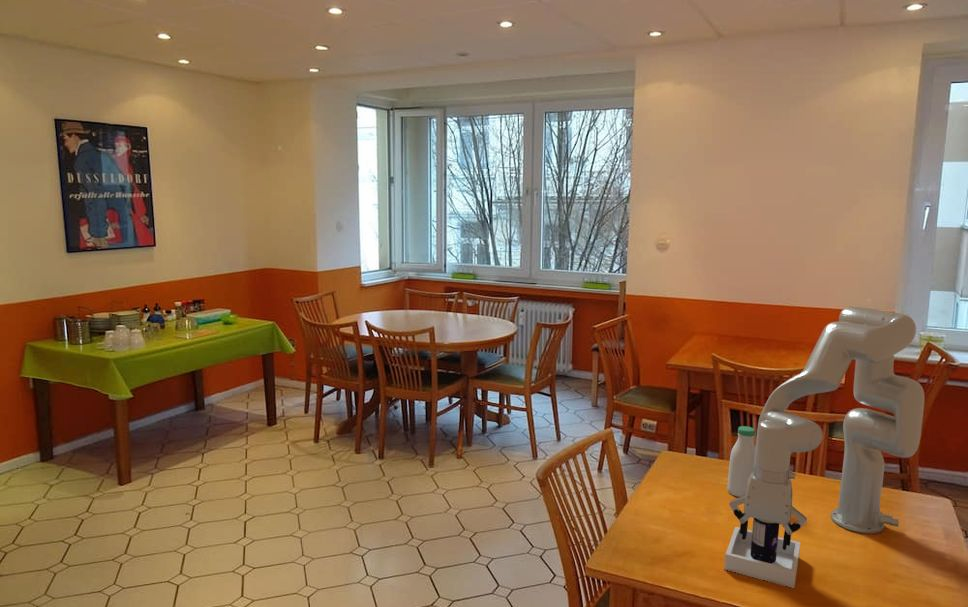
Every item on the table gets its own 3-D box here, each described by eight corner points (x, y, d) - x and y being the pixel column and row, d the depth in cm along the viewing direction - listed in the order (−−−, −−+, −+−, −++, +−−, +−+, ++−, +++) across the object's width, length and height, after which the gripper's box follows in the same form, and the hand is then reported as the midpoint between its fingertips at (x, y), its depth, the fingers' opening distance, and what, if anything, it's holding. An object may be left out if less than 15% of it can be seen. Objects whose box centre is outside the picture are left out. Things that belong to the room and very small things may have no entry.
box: (798, 557, 162) (800, 542, 161) (794, 588, 149) (795, 572, 148) (734, 541, 169) (735, 526, 168) (724, 569, 156) (725, 554, 155)
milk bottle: (759, 499, 193) (765, 433, 190) (732, 498, 193) (738, 432, 190) (749, 487, 200) (754, 424, 197) (723, 486, 201) (728, 423, 197)
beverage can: (773, 569, 155) (778, 520, 154) (748, 562, 158) (752, 514, 156) (777, 559, 160) (781, 511, 158) (752, 552, 163) (756, 505, 161)
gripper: (813, 475, 154) (805, 544, 157) (734, 460, 163) (728, 526, 166) (811, 487, 148) (803, 559, 151) (729, 471, 156) (723, 539, 159)
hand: (764, 541), depth 158 cm, fingers open, 8 cm apart
